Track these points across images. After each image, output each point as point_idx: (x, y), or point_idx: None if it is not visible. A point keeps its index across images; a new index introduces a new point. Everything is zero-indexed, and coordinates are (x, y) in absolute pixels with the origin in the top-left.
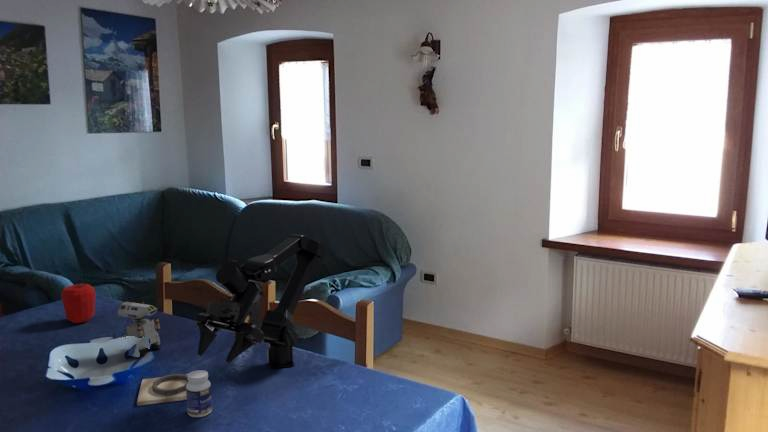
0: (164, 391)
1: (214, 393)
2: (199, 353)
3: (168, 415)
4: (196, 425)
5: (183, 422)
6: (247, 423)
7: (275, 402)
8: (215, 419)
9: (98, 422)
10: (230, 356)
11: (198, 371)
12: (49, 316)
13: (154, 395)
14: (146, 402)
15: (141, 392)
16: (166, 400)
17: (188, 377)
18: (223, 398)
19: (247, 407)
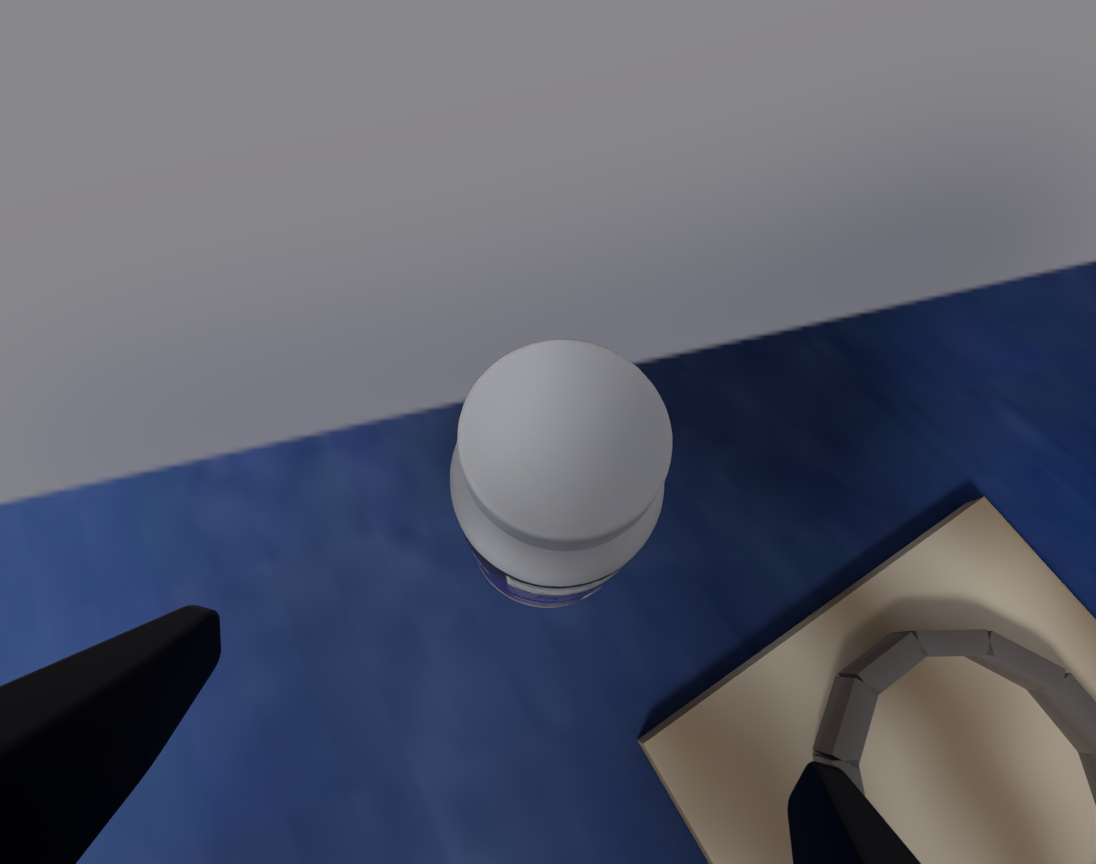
0: (921, 630)
1: (603, 836)
2: (814, 779)
3: (706, 451)
4: None
5: None
6: (189, 483)
7: None
8: (408, 478)
9: (983, 312)
10: (79, 655)
11: (597, 492)
12: None
13: (963, 608)
14: (937, 527)
15: (1082, 624)
16: (844, 591)
17: (619, 357)
18: (489, 770)
19: (250, 682)
